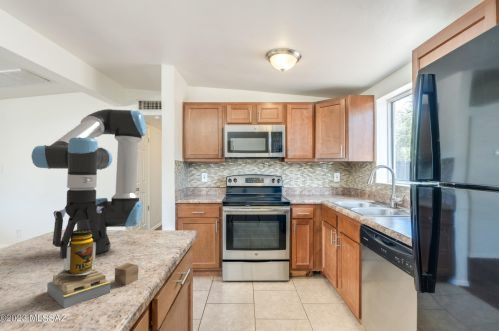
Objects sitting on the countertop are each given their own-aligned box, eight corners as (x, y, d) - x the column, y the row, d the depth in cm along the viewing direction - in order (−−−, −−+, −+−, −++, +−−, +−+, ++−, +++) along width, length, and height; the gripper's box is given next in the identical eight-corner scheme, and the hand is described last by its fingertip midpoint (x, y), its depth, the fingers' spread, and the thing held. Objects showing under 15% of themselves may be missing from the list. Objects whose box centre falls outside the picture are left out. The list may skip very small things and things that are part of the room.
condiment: (88, 274, 76) (89, 233, 76) (55, 276, 74) (56, 234, 75) (97, 265, 83) (98, 227, 83) (67, 267, 81) (68, 228, 82)
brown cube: (114, 283, 86) (114, 267, 86) (126, 277, 91) (127, 262, 91) (125, 285, 84) (126, 270, 84) (137, 280, 89) (138, 265, 89)
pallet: (52, 282, 79) (52, 275, 79) (89, 272, 87) (89, 266, 87) (67, 294, 72) (67, 287, 72) (105, 282, 80) (105, 275, 80)
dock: (47, 292, 79) (47, 282, 79) (90, 279, 88) (91, 270, 88) (64, 308, 70) (64, 296, 70) (110, 292, 80) (110, 282, 80)
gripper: (47, 191, 70) (44, 279, 69) (119, 188, 85) (117, 260, 85) (39, 189, 74) (36, 271, 74) (108, 186, 89) (106, 255, 89)
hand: (79, 265), depth 79 cm, fingers closed on condiment, 6 cm apart
